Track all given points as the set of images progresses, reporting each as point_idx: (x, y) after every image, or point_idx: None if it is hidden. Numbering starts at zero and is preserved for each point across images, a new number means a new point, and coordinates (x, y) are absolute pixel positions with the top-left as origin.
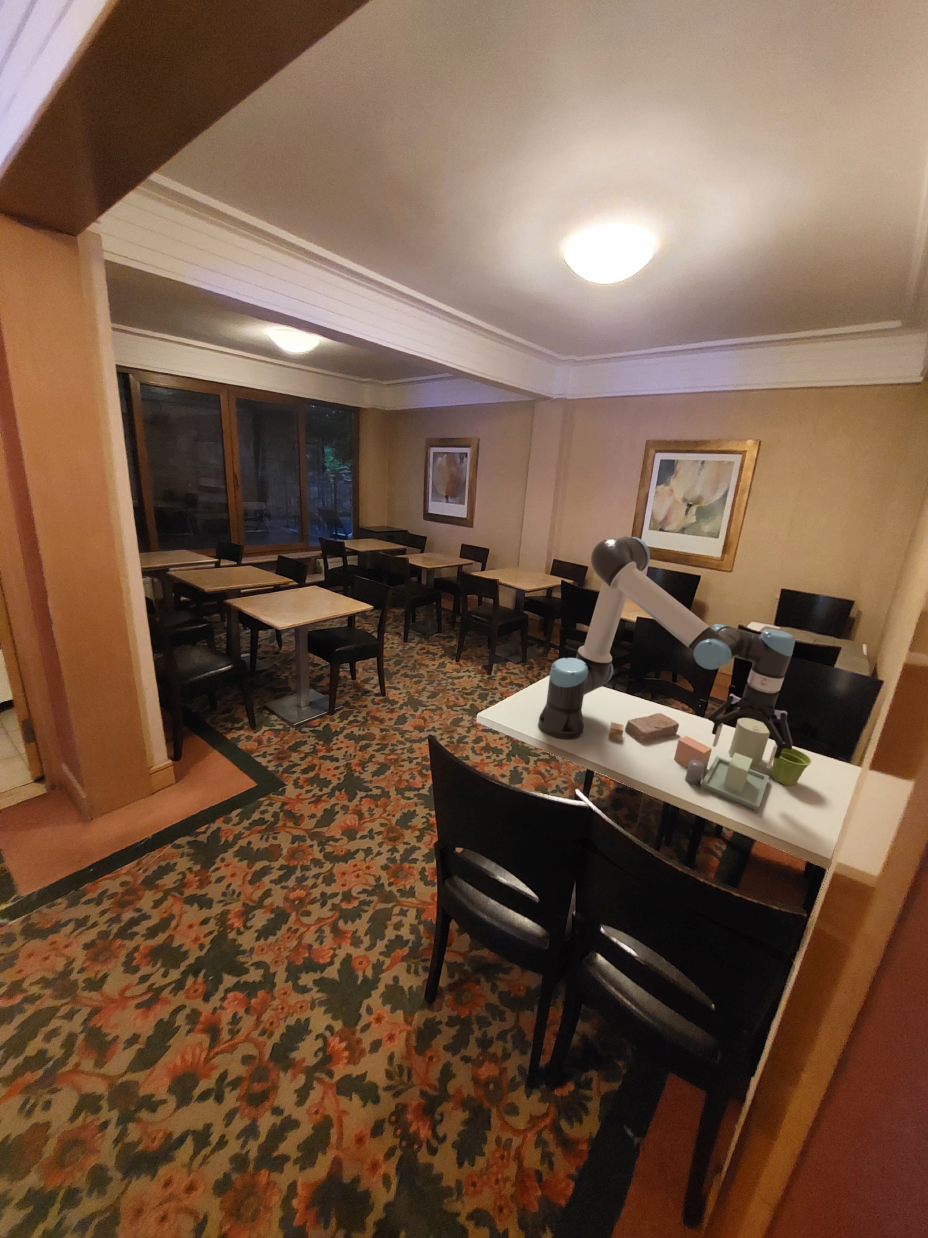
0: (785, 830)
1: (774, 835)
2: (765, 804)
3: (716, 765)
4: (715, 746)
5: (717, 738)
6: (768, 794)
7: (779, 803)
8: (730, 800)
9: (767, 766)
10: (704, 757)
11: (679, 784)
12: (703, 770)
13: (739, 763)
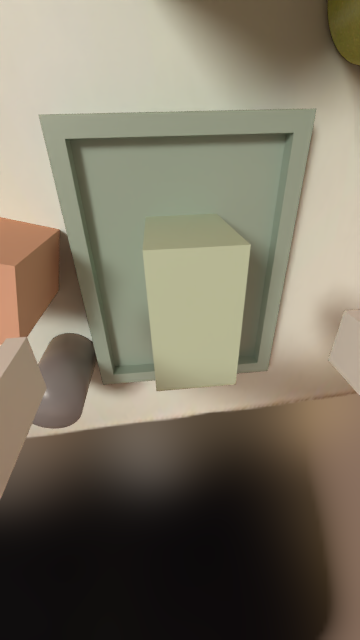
0: (321, 366)
1: (295, 398)
2: (282, 297)
3: (80, 200)
4: (43, 383)
5: (19, 449)
6: (295, 225)
7: (326, 255)
8: None
9: (334, 364)
10: (32, 313)
11: None
12: (84, 398)
13: (193, 352)
